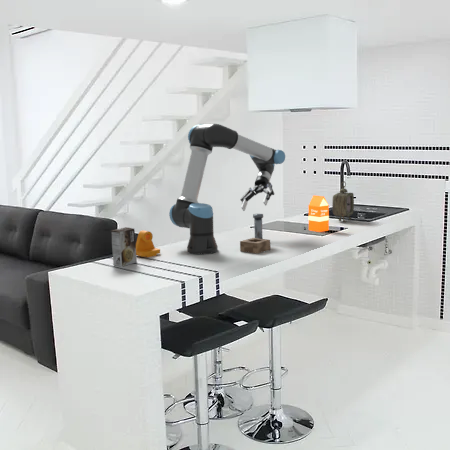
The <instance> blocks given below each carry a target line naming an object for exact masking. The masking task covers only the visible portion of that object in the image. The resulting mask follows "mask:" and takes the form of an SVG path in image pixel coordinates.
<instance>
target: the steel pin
mask: <svg viewBox="0 0 450 450" xmlns="http://www.w3.org/2000/svg"><path fill="white" fill-rule="evenodd" d="M263 218H264V213H253V214H252V219H253V221H254V225H253V226H254V227H253V229H254V238H259V239H264V237H263V235H264V234H263Z"/></svg>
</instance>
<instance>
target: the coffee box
mask: <svg viewBox="0 0 450 450" xmlns="http://www.w3.org/2000/svg"><path fill="white" fill-rule="evenodd" d="M110 234H111V248H112V249H111V250H112V262H113V263H112V264H113V266H118V267H124V266H128V265H132V264H135V263H138V262H137V260H138V259H137V258H138V257H137V255H136V235H135V234H136V233H135V228H134V227H133V228H132V227H121V228H116V229H111V230H110Z"/></svg>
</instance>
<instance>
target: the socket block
mask: <svg viewBox="0 0 450 450" xmlns="http://www.w3.org/2000/svg"><path fill="white" fill-rule="evenodd" d="M239 248H240V249H239V251H240V252H241V253H243V252H244V253H249V254H256V255H257V254H260V253H264V251H265V252H268V251H271V239H266V238H263V239H259V238H255V237H252V238H247V239H242V240H240V241H239Z"/></svg>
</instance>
